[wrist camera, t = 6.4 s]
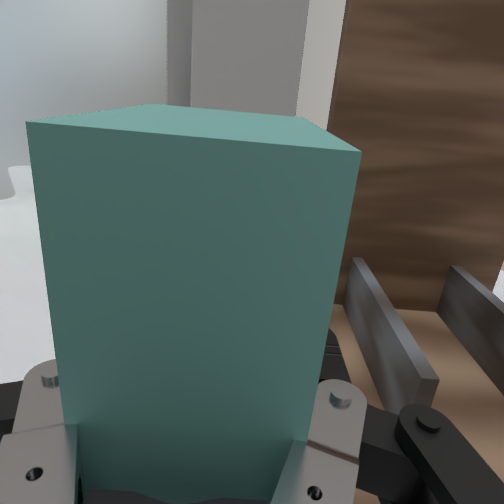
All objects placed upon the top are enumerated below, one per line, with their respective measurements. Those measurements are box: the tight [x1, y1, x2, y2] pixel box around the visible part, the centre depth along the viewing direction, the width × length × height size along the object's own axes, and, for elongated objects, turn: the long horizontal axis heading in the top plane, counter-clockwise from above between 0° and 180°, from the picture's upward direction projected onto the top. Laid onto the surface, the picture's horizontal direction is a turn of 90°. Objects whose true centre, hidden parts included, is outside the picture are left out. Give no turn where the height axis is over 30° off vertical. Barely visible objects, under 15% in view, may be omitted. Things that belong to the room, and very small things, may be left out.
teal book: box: [26, 104, 362, 504], centre depth 12 cm, size 7×4×16 cm, turn 0°
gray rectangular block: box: [167, 0, 309, 117], centre depth 45 cm, size 14×6×30 cm, turn 127°
